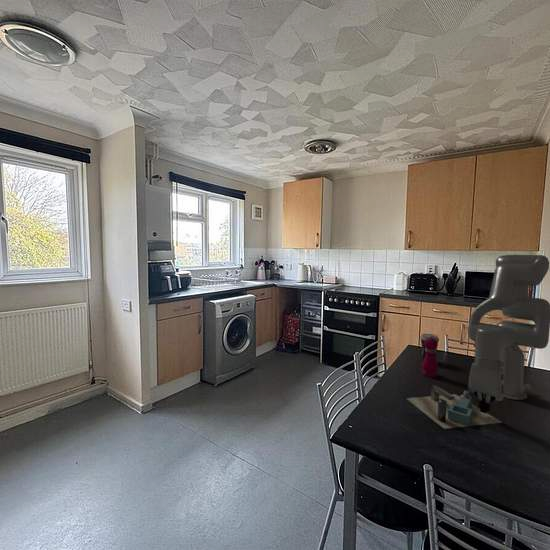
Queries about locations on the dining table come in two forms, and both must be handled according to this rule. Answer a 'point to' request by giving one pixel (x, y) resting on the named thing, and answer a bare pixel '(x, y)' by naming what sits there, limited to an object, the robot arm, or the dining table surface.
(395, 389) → the dining table surface
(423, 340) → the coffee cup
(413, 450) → the dining table surface
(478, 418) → the board
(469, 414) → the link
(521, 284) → the robot arm
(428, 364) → the pepper mill
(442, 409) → the pin
